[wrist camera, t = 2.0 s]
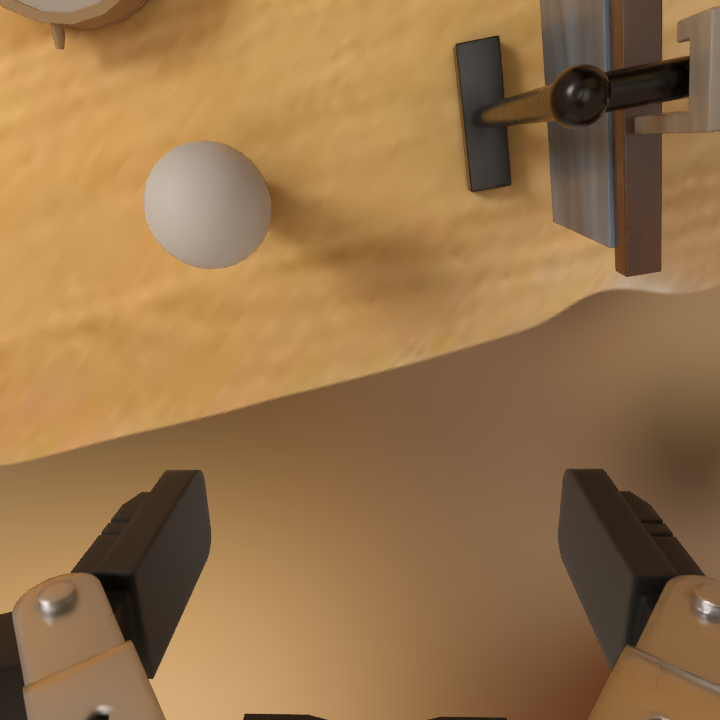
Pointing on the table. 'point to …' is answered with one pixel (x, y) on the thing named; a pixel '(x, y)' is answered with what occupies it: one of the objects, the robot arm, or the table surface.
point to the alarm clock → (74, 13)
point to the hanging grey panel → (623, 122)
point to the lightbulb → (207, 204)
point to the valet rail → (546, 102)
